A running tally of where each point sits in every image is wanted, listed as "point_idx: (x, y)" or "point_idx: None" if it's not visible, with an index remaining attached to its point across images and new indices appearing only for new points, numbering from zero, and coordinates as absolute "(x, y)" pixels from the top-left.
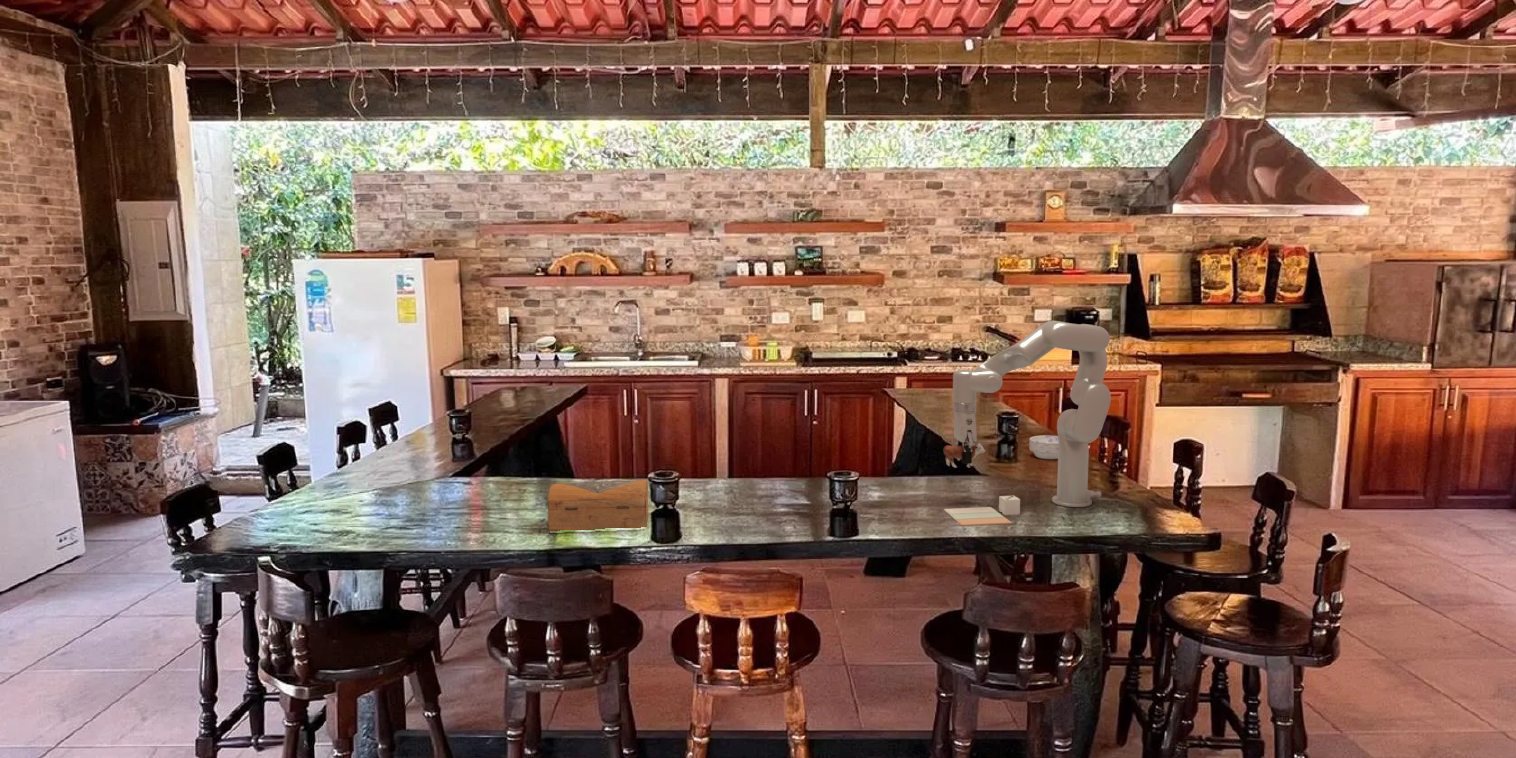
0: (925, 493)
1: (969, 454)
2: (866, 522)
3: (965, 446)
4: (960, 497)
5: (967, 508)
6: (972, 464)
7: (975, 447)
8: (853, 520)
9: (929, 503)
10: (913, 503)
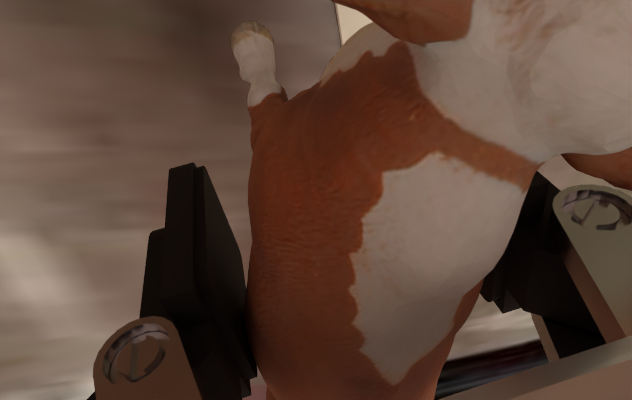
0: (20, 229)
1: (548, 192)
2: (476, 338)
3: (447, 342)
4: (36, 27)
5: (349, 8)
6: (269, 47)
7: (616, 157)
8: (452, 365)
9: (235, 200)
10: (246, 258)
